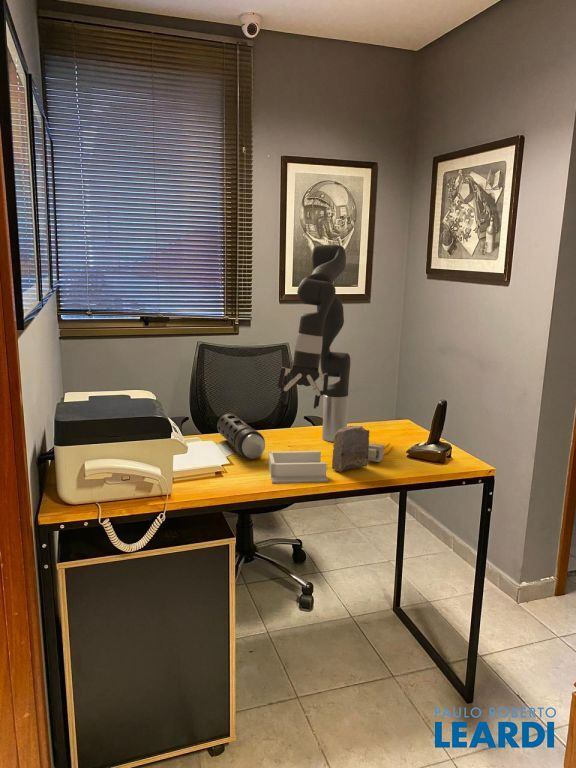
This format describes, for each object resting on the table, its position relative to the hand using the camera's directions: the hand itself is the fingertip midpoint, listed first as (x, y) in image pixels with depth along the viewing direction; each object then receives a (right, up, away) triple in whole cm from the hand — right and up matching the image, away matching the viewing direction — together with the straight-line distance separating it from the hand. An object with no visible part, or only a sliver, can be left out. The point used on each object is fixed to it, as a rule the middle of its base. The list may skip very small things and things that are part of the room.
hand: (299, 405), depth 166 cm
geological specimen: (+17, -22, +20) cm, 34 cm away
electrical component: (+29, -19, +36) cm, 50 cm away
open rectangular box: (-1, -22, +16) cm, 27 cm away
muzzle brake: (-20, -17, +38) cm, 46 cm away
